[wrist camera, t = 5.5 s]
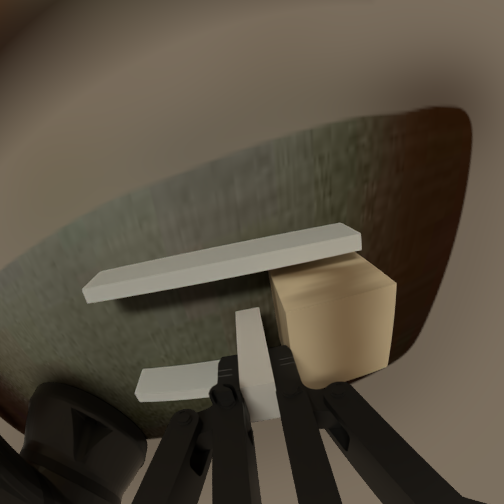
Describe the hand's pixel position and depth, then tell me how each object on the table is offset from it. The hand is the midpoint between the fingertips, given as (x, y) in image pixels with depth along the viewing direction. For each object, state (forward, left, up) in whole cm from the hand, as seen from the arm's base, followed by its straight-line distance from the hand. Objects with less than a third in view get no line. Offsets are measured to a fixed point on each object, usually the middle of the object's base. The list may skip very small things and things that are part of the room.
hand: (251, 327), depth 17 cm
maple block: (+5, 0, -2) cm, 5 cm away
